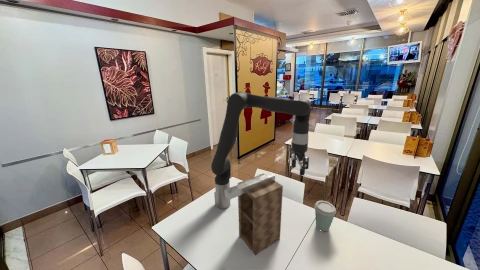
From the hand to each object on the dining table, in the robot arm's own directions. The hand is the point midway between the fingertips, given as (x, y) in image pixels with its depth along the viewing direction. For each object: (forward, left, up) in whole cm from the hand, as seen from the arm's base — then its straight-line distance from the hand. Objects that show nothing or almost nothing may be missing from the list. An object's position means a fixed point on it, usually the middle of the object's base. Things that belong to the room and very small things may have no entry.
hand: (297, 171), depth 99 cm
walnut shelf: (-14, -16, -34) cm, 40 cm away
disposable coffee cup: (+15, +5, -35) cm, 38 cm away
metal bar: (-17, -21, -2) cm, 26 cm away
